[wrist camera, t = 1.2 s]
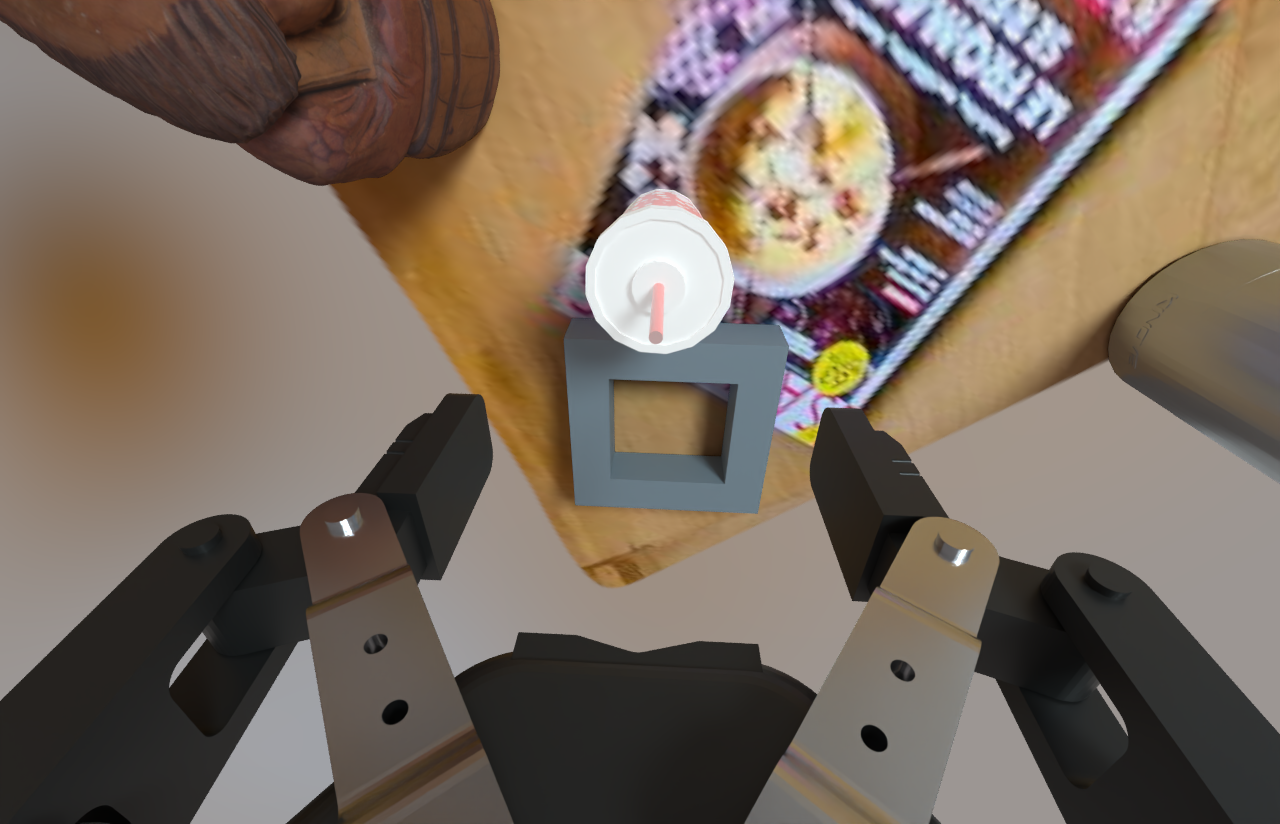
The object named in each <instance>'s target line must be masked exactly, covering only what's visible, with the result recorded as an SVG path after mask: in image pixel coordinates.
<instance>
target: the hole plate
mask: <svg viewBox="0 0 1280 824" xmlns="http://www.w3.org/2000/svg"><path fill="white" fill-rule="evenodd" d="M788 349H789V346H788V343H787V341H786V339H785V337H784V334H783V332H782V330H781V328H780V326H779V325H758V324H729V323H719V324H718V326H717V328H716V329H715V331H713V332H712V333H710V334H709V335H708V336H706V337H705V338H704V339H702V340H701V341H700V342H698V343H697V344H696V345H694V346H693V347H690V348H686V349H682V350H679V351H675V352H672V353H668V354H660V353H648V352H639V351H637V350H635V349H632V348H630V347H628V346H626V345H624V344H622V343H620V342H618V341H615V340H614V339H613V338H612V337H611V336H610V335H609V334H608V333H607V332H606V330H605V329H604V328H603V327H602V326H601V325H600V324H599V323H598V322H597V321H596V319H581V318H572V320H571V322H570V325H569V327H568V329H567V332H566V334H565V336H564V351H565V365H566V380H567V394H568V408H569V422H570V437H571V451H572V465H573V480H574V494H575V505H582V506H604V507H626V508H647V509H669V510H691V511H712V512H734V513H755V514H758V509H759V504H760V498H761V493H762V488H763V482H764V477H765V472H766V466H767V461H768V456H769V450H770V445H771V440H772V434H773V429H774V424H775V418H776V413H777V408H778V402H779V397H780V392H781V386H782V381H783V376H784V370H785V365H786V360H787V354H788ZM614 379H618V380H644V381H671V382H697V383H724V384H730V390H729V398H728V406H727V414H726V422H725V430H724V438H723V446H722V454H721V456H698V455H675V454H651V453H628V452H615V439H614Z"/></svg>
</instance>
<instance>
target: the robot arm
mask: <svg viewBox="0 0 1280 824" xmlns="http://www.w3.org/2000/svg"><path fill="white" fill-rule="evenodd" d="M1108 352H1109V361H1110V363H1111V366H1112V368H1113V370H1114V372H1115V373H1116V374H1117V375H1118V376H1119V377H1120V378H1121V379H1122V380H1123V381H1124V382H1126V383H1127V384H1129V385H1130V386H1132V387H1133V388H1135V389H1136V390H1138V391H1139V392H1141V393H1142V394H1144V395H1145V396H1147V397H1149V398H1150V399H1152V400H1153V401H1155V402H1156V403H1158V404H1159V405H1161V406H1162V407H1164V408H1165V409H1167V410H1168V411H1170V412H1171V413H1173V414H1174V415H1175V416H1177V417H1178V418H1180V419H1182V420H1183V421H1184V422H1186V423H1188V424H1189V425H1191V426H1192V427H1194V428H1195V429H1197V430H1198V431H1200V432H1201V433H1203V434H1204V435H1206V436H1207V437H1209V438H1210V439H1212V440H1214V441H1215V442H1217V443H1218V444H1220V445H1221V446H1223V447H1224V448H1226V449H1227V450H1229V451H1230V452H1232V453H1233V454H1235V455H1236V456H1238V457H1240V458H1241V459H1243V460H1244V461H1246V462H1247V463H1249V464H1250V465H1252V466H1253V467H1255V468H1256V469H1258V470H1259V471H1261V472H1262V473H1264V474H1265V475H1267V476H1268V477H1270V478H1271V479H1273V480H1274V481H1276V482H1277V483H1279V484H1280V244H1277V243H1273V242H1269V241H1265V240H1253V239H1242V240H1235V241H1229V242H1222V243H1219V244H1216V245H1213V246H1210V247H1207V248H1204V249H1201V250H1198V251H1196V252H1194V253H1192V254H1190V255H1188V256H1186V257H1184V258H1182V259H1180V260H1178V261H1176V262H1175V263H1173V264H1172V265H1170V266H1169V267H1167V268H1166V269H1164V270H1162V271H1161V272H1159V273H1158V274H1157V275H1156V276H1155V277H1153V278H1152V279H1151V280H1150V281H1149V282H1147V283H1146V284H1145V285H1144V286H1143V287H1142V288H1141V289H1140V290H1139V291H1138V292H1137V293H1136V294H1135V295H1134V296H1133V298H1132V299H1131V300H1130V301H1129V302H1128V303H1127V305H1126V306H1125V308H1124V309H1123V311H1122V312H1121V314H1120V315H1119V317H1118V318H1117V320H1116V323H1115V325H1114V327H1113V330H1112V332H1111V335H1110V341H1109V346H1108ZM492 460H493V449H492V442H491V437H490V431H489V425H488V419H487V414H486V408H485V403H484V399H483V397H482V396H481V395H479V394H452V393H449V394H447V395H446V396H445V397H444V398H443V400H442V401H441V403H440V404H439V405H438V407H437V408H436V410H435V411H434V412H433V413H425V414H423V415H421V416H420V417H418V418H417V419H415V420H414V421H412V422H411V423H409V424H408V425H406V427H405V428H404V429H403V430H402V432H401V433H400V434H399V436H398V437H397V438H396V442H393V443H392V445H391V446H390V447H389V449H388V450H387V454H384V455H383V457H382V458H381V459H380V461H379V462H378V463H377V464H376V466H375V467H374V468H373V470H372V471H371V472H370V474H369V475H368V476H367V477H366V479H365V480H364V481H363V483H362V484H361V485H360V487H359V488H358V489H357V491H356V492H355V493H351V494H346V495H342V496H338V497H336V498H333V499H330V500H328V501H326V502H324V503H322V504H321V505H319V506H318V507H316V508H315V509H314V510H312V511H311V512H310V513H309V514H308V515H307V516H306V518H305V519H304V520H303V522H302V524H301V526H296V527H291V528H285V529H280V530H274V531H269V532H263V533H258V534H255V532H254V530H253V528H252V526H251V524H250V522H249V521H248V520H247V519H246V518H244V517H242V516H239V515H232V514H226V515H217V516H213V517H209V518H205V519H202V520H199V521H196V522H194V523H191V524H189V525H187V526H185V527H184V528H181V529H180V530H178V531H177V532H175V533H173V534H172V535H171V536H169V537H168V538H167V539H165V540H164V541H163V542H162V543H161V544H160V545H159V546H158V547H157V548H156V549H155V550H154V551H153V552H152V553H151V554H150V555H149V556H148V557H147V558H146V559H145V560H144V561H143V562H142V563H141V564H140V565H139V566H138V567H136V568H135V569H134V570H133V571H132V572H131V573H130V574H129V575H128V577H126V578H125V579H124V580H123V581H122V582H121V583H120V584H119V585H118V586H117V587H116V588H115V589H114V590H113V591H112V592H111V593H110V594H109V595H108V596H107V597H106V598H105V599H104V600H103V601H102V602H101V603H100V604H99V605H98V606H97V607H96V608H95V609H94V610H93V611H92V612H91V613H90V614H89V615H87V617H86V618H84V619H83V621H81V622H80V624H78V625H77V626H76V627H75V628H74V629H73V630H72V631H71V632H70V633H69V634H68V635H67V636H66V637H65V638H64V639H63V640H62V641H61V642H60V643H59V644H58V645H57V646H56V647H55V648H54V649H53V650H52V651H51V652H50V653H49V654H48V655H47V656H46V657H45V658H44V659H43V660H42V661H41V662H40V663H38V665H36V666H35V668H34V669H33V670H31V671H30V672H29V673H28V674H27V675H26V676H25V677H24V678H23V679H22V680H21V681H20V682H19V683H18V684H17V685H16V686H15V687H14V688H13V689H12V690H11V691H10V692H9V693H8V694H7V695H6V696H5V697H4V698H3V699H2V700H1V701H0V824H190V822H191V821H192V819H193V817H194V816H195V814H196V812H197V811H198V809H199V807H200V806H201V804H202V802H203V800H204V799H205V797H206V796H207V794H208V792H209V790H210V789H211V787H212V786H213V784H214V782H215V781H216V779H217V777H218V775H219V774H220V772H221V770H222V769H223V767H224V765H225V764H226V762H227V760H228V759H229V757H230V755H231V753H232V752H233V750H234V749H235V747H236V745H237V743H238V742H239V740H240V739H241V737H242V735H243V733H244V732H245V730H246V728H247V727H248V725H249V723H250V722H251V720H252V718H253V717H254V715H255V713H256V712H257V710H258V708H259V707H260V705H261V703H262V702H263V700H264V698H265V697H266V695H267V693H268V691H269V690H270V688H271V686H272V684H273V683H274V681H275V680H276V678H277V676H278V675H279V673H280V671H281V670H282V668H283V666H284V665H285V663H286V661H287V660H288V658H289V656H290V655H291V653H292V651H293V649H294V647H295V646H296V644H297V643H298V642H299V641H303V640H308V639H310V642H311V649H312V655H313V660H314V666H315V672H316V678H317V684H318V690H319V696H320V702H321V708H322V714H323V720H324V726H325V732H326V738H327V743H328V750H329V755H330V761H331V767H332V773H333V779H334V782H333V783H332V784H331V785H330V786H328V787H327V788H326V789H325V790H324V791H323V792H322V793H320V794H319V795H318V796H317V797H316V798H315V799H314V800H312V801H311V802H310V803H309V804H308V805H307V806H306V807H304V808H303V809H302V810H301V811H300V812H299V813H298V814H297V815H295V816H294V817H293V818H292V819H291V820H290V821H289V822H287V823H286V824H941V823H940V822H939V821H938V820H937V819H936V818H935V817H934V816H933V814H932V811H933V808H934V805H935V801H936V798H937V794H938V791H939V788H940V784H941V781H942V777H943V774H944V771H945V767H946V764H947V761H948V757H949V754H950V750H951V747H952V744H953V740H954V737H955V734H956V730H957V727H958V724H959V720H960V717H961V713H962V709H963V707H964V703H965V700H966V696H967V693H968V690H969V686H970V683H971V680H972V676H973V673H974V672H977V673H980V674H983V675H986V676H989V677H993V678H995V679H996V681H997V683H998V685H999V687H1000V689H1001V691H1002V693H1003V695H1004V697H1005V699H1006V701H1007V703H1008V705H1009V707H1010V709H1011V712H1012V714H1013V715H1014V718H1015V720H1016V722H1017V724H1018V726H1019V728H1020V730H1021V732H1022V734H1023V736H1024V738H1025V740H1026V742H1027V744H1028V746H1029V748H1030V750H1031V752H1032V754H1033V756H1034V759H1035V761H1036V763H1037V765H1038V767H1039V768H1040V771H1041V773H1042V775H1043V777H1044V779H1045V781H1046V783H1047V785H1048V787H1049V789H1050V791H1051V793H1052V795H1053V797H1054V799H1055V802H1056V804H1057V806H1058V808H1059V810H1060V812H1061V814H1062V816H1063V818H1064V820H1065V822H1066V824H1280V734H1279V733H1278V732H1277V731H1276V730H1275V728H1274V727H1273V726H1272V725H1271V724H1270V723H1269V722H1268V720H1266V718H1265V717H1264V716H1263V715H1262V714H1261V713H1260V712H1259V710H1258V709H1257V708H1256V707H1255V706H1254V705H1253V704H1252V703H1251V701H1250V700H1249V699H1248V698H1247V697H1246V696H1245V694H1244V693H1243V692H1242V691H1241V690H1240V689H1239V688H1238V687H1237V686H1236V684H1235V683H1234V682H1233V681H1232V680H1231V679H1230V678H1229V676H1228V675H1226V673H1225V672H1224V671H1223V670H1222V669H1221V667H1220V666H1219V665H1218V664H1217V663H1216V662H1215V661H1214V660H1213V658H1212V657H1211V656H1210V655H1209V654H1208V653H1207V652H1206V651H1205V649H1204V648H1203V647H1202V646H1201V645H1200V644H1199V643H1198V641H1197V640H1196V639H1195V638H1194V637H1193V636H1192V635H1191V633H1190V632H1189V631H1188V630H1187V629H1186V628H1185V627H1184V626H1183V625H1182V623H1181V622H1180V621H1179V620H1178V619H1177V618H1176V617H1175V615H1174V614H1173V613H1172V612H1171V611H1170V610H1169V609H1168V607H1167V606H1166V605H1165V604H1164V603H1163V602H1162V601H1161V600H1160V598H1159V597H1158V596H1157V595H1156V594H1155V593H1154V592H1153V591H1152V589H1150V587H1149V586H1147V584H1146V583H1145V582H1143V581H1142V580H1141V579H1140V578H1138V577H1137V576H1136V575H1134V574H1133V573H1131V572H1130V571H1128V570H1126V569H1125V568H1123V567H1121V566H1119V565H1117V564H1115V563H1113V562H1111V561H1109V560H1106V559H1104V558H1101V557H1098V556H1094V555H1090V554H1085V553H1066V554H1063V555H1061V556H1059V557H1058V558H1057V559H1056V560H1055V562H1054V563H1053V565H1052V566H1051V568H1050V570H1047V569H1044V568H1040V567H1036V566H1032V565H1028V564H1025V563H1021V562H1017V561H1014V560H1010V559H1006V558H1003V557H1000V556H999V555H998V553H997V550H996V549H995V547H994V546H993V544H992V543H991V542H990V541H989V540H988V539H987V538H986V537H985V536H984V535H982V534H981V533H980V532H978V531H977V530H975V529H974V528H972V527H970V526H968V525H966V524H964V523H961V522H959V521H956V520H952V519H949V517H948V516H947V514H946V513H945V511H944V510H943V508H942V507H941V505H940V503H939V502H938V500H937V499H936V497H935V496H934V494H933V493H932V491H931V490H930V488H929V486H928V485H927V483H926V482H925V480H924V479H923V477H922V476H920V475H919V471H918V470H917V468H916V466H915V465H914V464H913V463H911V459H910V457H909V456H908V454H907V453H906V451H905V449H904V448H903V446H902V445H901V444H900V443H899V442H897V441H896V440H895V439H893V438H892V437H891V436H889V435H888V434H887V433H886V432H884V431H874V429H873V428H872V426H871V424H870V423H869V421H868V419H867V417H866V416H865V414H864V412H863V411H862V410H861V409H853V408H826V409H825V410H824V411H823V414H822V417H821V421H820V425H819V429H818V433H817V437H816V441H815V446H814V450H813V454H812V458H811V463H810V482H811V486H812V490H813V492H814V495H815V498H816V501H817V503H818V506H819V509H820V512H821V515H822V518H823V520H824V523H825V526H826V529H827V531H828V534H829V537H830V540H831V543H832V545H833V548H834V551H835V554H836V556H837V559H838V562H839V565H840V568H841V570H842V573H843V576H844V579H845V582H846V585H847V587H848V590H849V593H850V596H851V599H852V601H862V602H868V603H867V605H866V607H865V608H864V610H863V612H862V614H861V616H860V618H859V619H858V621H857V623H856V625H855V627H854V628H853V630H852V632H851V634H850V636H849V638H848V640H847V641H846V643H845V645H844V647H843V649H842V651H841V652H840V654H839V656H838V658H837V660H836V662H835V663H834V665H833V667H832V669H831V671H830V673H829V674H828V676H827V678H826V680H825V682H824V684H823V685H822V687H821V689H820V691H819V693H818V695H817V694H816V693H815V692H813V691H812V690H811V689H810V688H808V687H807V686H805V685H804V684H802V683H801V682H800V681H798V680H796V679H794V678H793V677H791V676H789V675H787V674H785V673H783V672H781V671H779V670H776V669H774V668H772V667H769V666H766V665H763V664H761V660H760V659H761V658H760V652H759V646H758V644H744V643H725V642H704V641H697V642H692V643H687V644H682V645H677V646H672V647H667V648H662V649H657V650H652V651H647V652H640V653H637V652H631V651H627V650H624V649H621V648H617V647H614V646H611V645H607V644H604V643H600V642H598V641H594V640H591V639H587V638H584V637H581V636H578V635H563V634H542V633H522V632H519V633H518V636H517V640H516V644H515V647H514V651H513V652H510V653H505V654H502V655H498V656H495V657H492V658H489V659H487V660H485V661H483V662H480V663H478V664H476V665H474V666H472V667H470V668H469V669H467V670H465V671H463V672H462V673H460V674H459V675H458V676H456V677H455V678H454V676H453V674H452V671H451V668H450V666H449V663H448V660H447V658H446V655H445V653H444V650H443V648H442V645H441V643H440V640H439V638H438V635H437V633H436V630H435V628H434V625H433V623H432V621H431V618H430V615H429V613H428V610H427V608H426V605H425V603H424V601H423V598H422V595H421V593H420V590H419V588H418V583H419V581H420V579H425V580H441V579H442V576H443V574H444V572H445V570H446V568H447V566H448V563H449V561H450V559H451V557H452V555H453V552H454V550H455V548H456V546H457V544H458V541H459V539H460V537H461V535H462V533H463V531H464V528H465V526H466V524H467V522H468V519H469V517H470V515H471V513H472V510H473V509H474V506H475V504H476V502H477V500H478V498H479V496H480V493H481V491H482V489H483V487H484V485H485V482H486V480H487V478H488V476H489V474H490V471H491V467H492ZM202 632H203V633H204V635H205V636H206V638H207V639H206V641H205V642H204V643H203V645H202V646H201V647H200V649H199V650H198V651H197V653H196V654H195V655H194V656H193V658H192V659H191V660H190V662H189V663H188V664H187V666H186V667H185V668H184V669H183V671H182V672H181V673H180V675H179V676H178V677H177V679H176V680H175V681H174V683H173V684H172V685H171V687H170V688H169V683H170V678H171V675H172V673H173V671H174V668H175V667H176V665H177V664H178V662H179V661H180V659H181V658H182V657H183V656H184V654H185V653H186V651H188V649H189V648H190V647H191V645H192V644H193V643H194V642H195V640H196V639H197V638H198V636H199V635H200V634H201V633H202ZM1099 684H1101V686H1102V687H1103V689H1104V690H1105V692H1106V693H1107V695H1108V696H1109V698H1110V699H1111V701H1112V702H1113V704H1114V705H1115V707H1116V708H1117V710H1118V711H1119V713H1120V714H1121V716H1122V718H1123V720H1124V722H1125V725H1126V728H1127V732H1128V736H1127V734H1126V733H1125V731H1124V730H1123V728H1122V727H1121V725H1120V724H1119V722H1118V720H1117V719H1116V717H1115V716H1114V714H1113V713H1112V711H1111V710H1110V708H1109V707H1108V705H1107V704H1106V702H1105V700H1104V699H1103V697H1102V696H1101V694H1100V693H1099V691H1098V690H1097V688H1096V687H1097V686H1098V685H1099Z"/></svg>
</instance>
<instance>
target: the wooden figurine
mask: <svg viewBox="0 0 1280 824" xmlns="http://www.w3.org/2000/svg"><path fill="white" fill-rule="evenodd" d="M0 21H2V22H3V23H5V24H7V25H8V26H9V27H11V28H12V29H13V30H14V31H15V32H16V33H17V34H19V35H20V36H21V37H23V38H24V39H26V40H28V41H30V42H32V43H34V44H36V45H37V46H38V47H39V48H40V49H41V50H42V51H43V52H44V53H46V54H47V55H48V56H49V57H51V58H52V59H54V60H56V61H57V62H59V63H60V64H62V65H64V66H65V67H67V68H68V69H70V70H71V71H73V72H74V73H76V74H78V75H79V76H81V77H82V78H84V79H86V80H87V81H89V82H90V83H92V84H94V85H96V86H97V87H99V88H101V89H102V90H104V91H106V92H107V93H109V94H111V95H113V96H115V97H117V98H120V99H122V100H123V101H125V102H127V103H129V104H130V105H132V106H134V107H135V108H137V109H139V110H141V111H143V112H145V113H148V114H151V115H154V116H158V117H160V118H162V119H163V120H165V121H166V122H168V123H170V124H172V125H174V126H176V127H179V128H181V129H184V130H186V131H189V132H191V133H193V134H196V135H200V136H203V137H207V138H211V139H215V140H220V141H224V142H228V143H236V144H238V145H239V146H240V147H241V148H243V149H244V150H245V151H247V152H248V153H250V154H252V155H253V156H255V157H256V158H257V159H259V160H261V161H263V162H265V163H267V164H268V165H270V166H272V167H273V168H275V169H277V170H279V171H281V172H283V173H285V174H287V175H289V176H292V177H294V178H296V179H298V180H301V181H303V182H306V183H309V184H313V185H318V186H324V185H328V184H335V183H346V182H351V181H355V180H358V179H363V178H379V177H383V176H385V175H387V174H388V173H390V172H391V171H392V170H393V169H395V168H396V167H397V166H398V164H399V163H400V162H401V161H402V160H403V159H404V157H412V158H418V159H424V158H433V157H438V156H442V155H445V154H447V153H450V152H452V151H454V150H456V149H457V148H459V147H461V146H462V145H464V144H465V143H466V142H467V141H469V140H470V139H472V137H473V136H475V135H476V134H477V133H478V132H479V131H480V129H481V128H482V127H483V126H484V125H485V124H486V122H487V120H488V118H489V115H490V113H491V110H492V107H493V103H494V98H495V94H496V90H497V86H498V81H499V75H500V57H499V53H500V50H499V36H498V29H497V24H496V19H495V15H494V11H493V8H492V5H491V2H490V0H0Z"/></svg>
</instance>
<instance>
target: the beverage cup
mask: <svg viewBox="0 0 1280 824" xmlns="http://www.w3.org/2000/svg"><path fill="white" fill-rule="evenodd" d="M733 284H734V274H733V270H732V266H731V262H730V258H729V254H728V250H727V247H726V246H725V244H724V243H723V241H722V240H721V239H720V238H719V236H718V235H717V234H716V232H715V231H714V230H713V228H712V227H711V226H710V225H709V223H708V222H707V221H705V220H704V219H703V218H702V216H701V214H700V212H699V211H698V210H697V208H696V207H695V206H694V204H693V203H692V202H691V201H690V199H689V198H687V197H685V196H684V195H682V194H680V193H678V192H676V191H674V190H664V189H656V190H653V191H650V192H647V193H644V194H642V195H640V196H639V197H638V198H637V199H636V200H635V201H634V202H633V203H632V204H631V205H630V206H629V207H628V208H627V209H626V211H625V212H624V214H623V215H621V216H620V217H619V218H618V219H617V220H616V221H615V222H614V223H613V224H612V225H610V226H609V227H608V228H607V229H606V230H605V231H604V232H603V233H602V234H601V235H600V236H599V237H598V240H597V242H596V244H595V246H594V249H593V251H592V253H591V255H590V258H589V260H588V262H587V265H586V297H587V300H588V302H589V305H590V307H591V310H592V312H593V315H594V317H595V319H596V321H597V322H598V323H599V324H600V325H601V326H602V327H603V328H604V329H605V330H606V332H607V333H608V334H609V335H610V336H611V337H612V338H613V339H614V340H615V341H618V342H620V343H622V344H624V345H626V346H628V347H630V348H632V349H635V350H637V351H639V352H648V353H660V354H668V353H672V352H675V351H679V350H682V349H686V348H690V347H693V346H694V345H696V344H697V343H698V342H700V341H701V340H702V339H704V338H705V337H706V336H708V335H709V334H710V333H712V332H713V331H715V329H716V328H717V326H718V324H719V323H720V321H721V320H722V318H723V316H724V315H725V313H726V312H727V310H728V308H729V307H730V302H731V296H732V290H733Z"/></svg>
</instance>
